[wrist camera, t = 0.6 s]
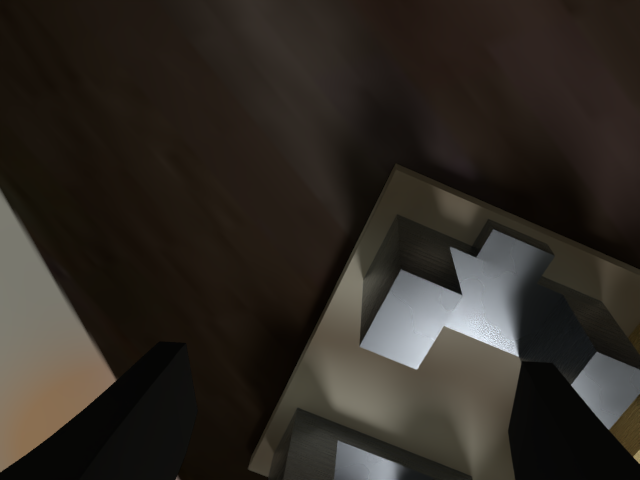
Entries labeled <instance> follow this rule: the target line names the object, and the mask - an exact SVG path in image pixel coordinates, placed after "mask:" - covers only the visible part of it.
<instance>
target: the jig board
mask: <svg viewBox="0 0 640 480" xmlns="http://www.w3.org/2000/svg"><path fill="white" fill-rule="evenodd" d="M397 214H398V215H401V216H403V217H405V218H408V219H410V220H412V221H415V222H417V223H419V224H422V225H424V226H426V227H429V228H431V229H433V230H436V231H438V232H440V233H443V234H445V235H448V236H450V237H452V238H455V239H457V240H459V241H462V242H464V243H466V244H469V245H471V246H472V245H473V244H474V242H475V240H476V238H477V237H478V235H479V233H480V232H481V230H482V228H483V227H484V225H485V223H486V222H487V220H488V219H490V220H493V221H495V222H497V223H500V224H502V225H504V226H507V227H509V228H511V229H514V230H516V231H518V232H521V233H523V234H525V235H527V236H530V237H532V238H534V239H537V240H539V241H541V242H544V243H546V244H548V246H549V247H550V249H551V250H552V252H553V253H554V255H555V257H554V259H553V260H552V262H551V263H550V264H549V266H548V267H547V269H546V270H545V272H544V273H543V275H542V276H543V277H546V278H548V279H550V280H553V281H555V282H557V283H560V284H562V285H564V286H567V287H569V288H571V289H574V290H576V291H579V292H581V293H583V294H586V295H588V296H590V297H593V298H595V299H597V300H600V301H602V302H603V304H604V305H605V306H606V308H607V309H608V311H609V312H610V313H611V315H612V316H613V318H614V319H615V320H616V322H617V323H618V325H619V326H620V328H621V329H622V330H623V332H624V333H625V335H626V336H627V337H629V336H630V335H631V333H632V332H633V331H634V330H635V328H636V327H637V326H638V325H639V323H640V269H638V268H635V267H633V266H631V265H628V264H626V263H624V262H621V261H619V260H617V259H615V258H612V257H610V256H608V255H605V254H603V253H601V252H598V251H596V250H594V249H592V248H589V247H587V246H585V245H582V244H580V243H578V242H575V241H573V240H571V239H569V238H566V237H564V236H562V235H559V234H557V233H555V232H552V231H550V230H548V229H546V228H543V227H541V226H539V225H536V224H534V223H532V222H529V221H527V220H525V219H523V218H520V217H518V216H516V215H513V214H511V213H509V212H506V211H504V210H502V209H500V208H497V207H495V206H493V205H490V204H488V203H486V202H483V201H481V200H479V199H477V198H474V197H472V196H470V195H467V194H465V193H463V192H460V191H458V190H456V189H454V188H451V187H449V186H447V185H444V184H442V183H440V182H437V181H435V180H433V179H431V178H428V177H426V176H424V175H421V174H419V173H417V172H414V171H412V170H410V169H408V168H405V167H403V166H401V165H398V164H395V166H394V168H393V170H392V172H391V174H390V176H389V178H388V180H387V182H386V184H385V186H384V188H383V190H382V192H381V194H380V196H379V198H378V200H377V202H376V204H375V206H374V208H373V210H372V212H371V214H370V216H369V218H368V220H367V223H366V225H365V227H364V229H363V231H362V233H361V235H360V237H359V239H358V241H357V243H356V245H355V247H354V249H353V251H352V253H351V255H350V257H349V259H348V261H347V263H346V265H345V267H344V269H343V271H342V273H341V275H340V277H339V279H338V281H337V283H336V285H335V288H334V290H333V292H332V294H331V296H330V298H329V300H328V302H327V304H326V306H325V308H324V310H323V312H322V314H321V316H320V318H319V320H318V322H317V324H316V326H315V328H314V330H313V332H312V334H311V336H310V338H309V340H308V342H307V344H306V346H305V348H304V351H303V353H302V355H301V357H300V359H299V361H298V363H297V365H296V367H295V369H294V371H293V373H292V375H291V377H290V379H289V381H288V383H287V385H286V387H285V389H284V391H283V393H282V395H281V397H280V399H279V401H278V403H277V405H276V407H275V409H274V411H273V413H272V416H271V418H270V420H269V422H268V424H267V426H266V428H265V430H264V432H263V434H262V436H261V438H260V440H259V442H258V444H257V446H256V448H255V450H254V452H253V454H252V456H251V459H250V463H249V467H248V470H251V471H253V472H256V473H259V474H261V475H264V476H266V477H268V476H269V472H270V467H271V463H272V459H273V454H274V452H275V450H276V448H277V446H278V444H279V442H280V440H281V438H282V436H283V434H284V432H285V431H286V429H287V427H288V425H289V423H290V421H291V419H292V417H293V415H294V413H295V411H296V409H297V407H298V408H300V409H303V410H305V411H308V412H310V413H313V414H315V415H318V416H321V417H323V418H326V419H328V420H331V421H333V422H336V423H338V424H341V425H343V426H346V427H348V428H351V429H354V430H356V431H359V432H361V433H364V434H366V435H369V436H371V437H374V438H376V439H379V440H381V441H384V442H387V443H389V444H392V445H394V446H397V447H399V448H402V449H404V450H407V451H409V452H412V453H414V454H417V455H420V456H422V457H425V458H427V459H430V460H432V461H435V462H437V463H440V464H442V465H445V466H447V467H450V468H453V469H455V470H458V471H460V472H463V473H465V474H468V475H470V476H472V479H473V480H515V476H514V470H513V463H512V457H511V450H510V443H509V436H508V428H509V423H510V418H511V413H512V408H513V403H514V398H515V393H516V388H517V383H518V378H519V373H520V368H521V361H520V359H519V357H518V356H515V355H513V354H511V353H508V352H506V351H503V350H501V349H498V348H496V347H494V346H491V345H489V344H486V343H484V342H482V341H479V340H477V339H474V338H472V337H469V336H467V335H465V334H462V333H460V332H457V331H455V330H453V329H450V328H448V327H445V326H444V327H443V328H442V330H441V331H440V333H439V335H438V336H437V338H436V340H435V341H434V343H433V344H432V346H431V348H430V349H429V351H428V353H427V354H426V356H425V358H424V359H423V361H422V362H421V364H420V366H419V367H418V369H417V370H416V369H413V368H411V367H409V366H406V365H404V364H401V363H399V362H396V361H394V360H391V359H389V358H386V357H384V356H381V355H379V354H377V353H374V352H372V351H369V350H367V349H364V348H362V347H359V344H360V326H361V309H362V292H363V279H364V277H365V275H366V273H367V271H368V269H369V267H370V265H371V263H372V261H373V260H374V258H375V256H376V254H377V252H378V250H379V248H380V246H381V244H382V242H383V240H384V238H385V236H386V234H387V232H388V230H389V228H390V226H391V225H392V223H393V221H394V219H395V217H396V215H397Z"/></svg>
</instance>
